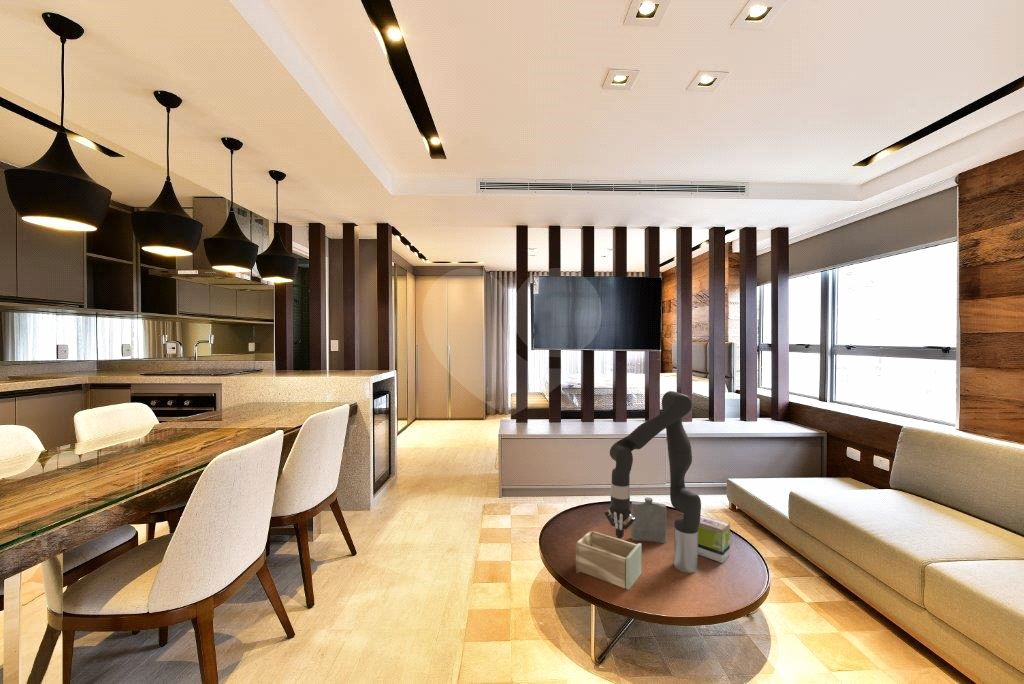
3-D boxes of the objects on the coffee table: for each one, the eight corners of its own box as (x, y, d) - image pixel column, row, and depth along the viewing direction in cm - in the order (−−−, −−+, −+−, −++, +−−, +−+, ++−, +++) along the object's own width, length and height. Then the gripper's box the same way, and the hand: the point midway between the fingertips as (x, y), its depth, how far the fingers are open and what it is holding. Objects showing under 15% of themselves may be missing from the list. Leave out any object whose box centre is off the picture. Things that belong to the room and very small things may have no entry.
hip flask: (631, 540, 199) (631, 498, 199) (630, 536, 203) (631, 495, 203) (666, 543, 196) (666, 501, 196) (664, 539, 200) (665, 498, 200)
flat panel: (638, 571, 170) (638, 543, 170) (641, 572, 169) (641, 543, 169) (625, 588, 159) (626, 557, 159) (628, 589, 158) (629, 558, 158)
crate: (590, 558, 183) (590, 530, 183) (637, 574, 170) (637, 544, 170) (575, 572, 172) (575, 542, 171) (624, 591, 159) (625, 559, 159)
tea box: (730, 555, 186) (730, 522, 185) (722, 564, 179) (722, 530, 178) (696, 543, 196) (696, 512, 196) (687, 551, 189) (687, 519, 189)
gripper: (639, 495, 166) (638, 538, 166) (608, 488, 174) (607, 529, 174) (633, 501, 160) (632, 546, 160) (601, 493, 168) (600, 536, 168)
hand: (619, 537), depth 167 cm, fingers closed
